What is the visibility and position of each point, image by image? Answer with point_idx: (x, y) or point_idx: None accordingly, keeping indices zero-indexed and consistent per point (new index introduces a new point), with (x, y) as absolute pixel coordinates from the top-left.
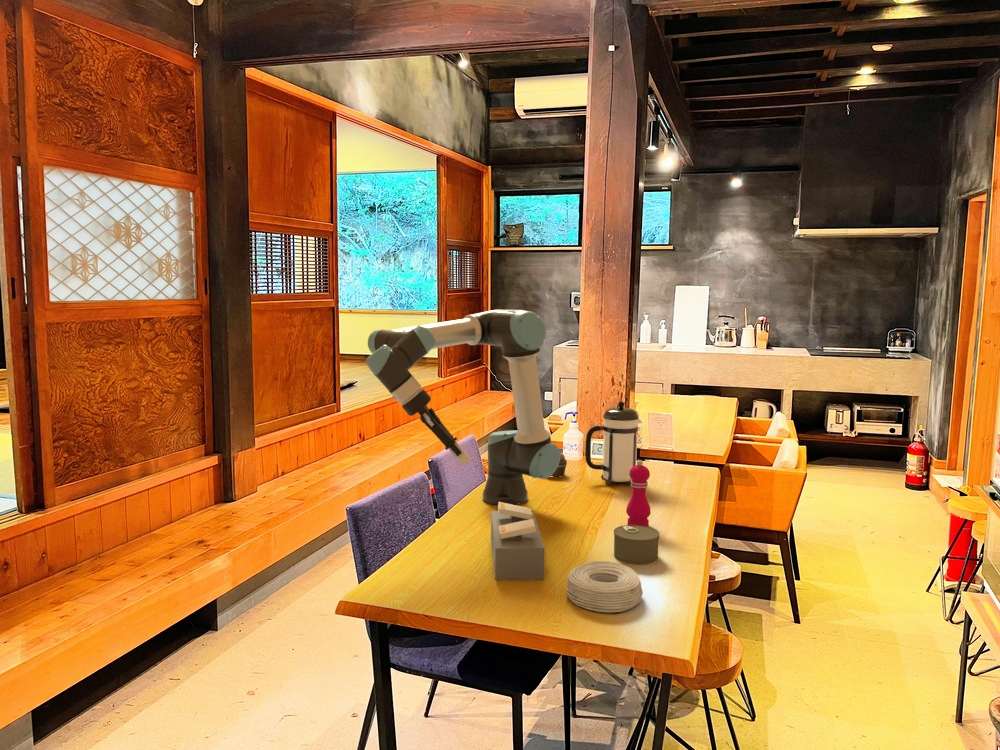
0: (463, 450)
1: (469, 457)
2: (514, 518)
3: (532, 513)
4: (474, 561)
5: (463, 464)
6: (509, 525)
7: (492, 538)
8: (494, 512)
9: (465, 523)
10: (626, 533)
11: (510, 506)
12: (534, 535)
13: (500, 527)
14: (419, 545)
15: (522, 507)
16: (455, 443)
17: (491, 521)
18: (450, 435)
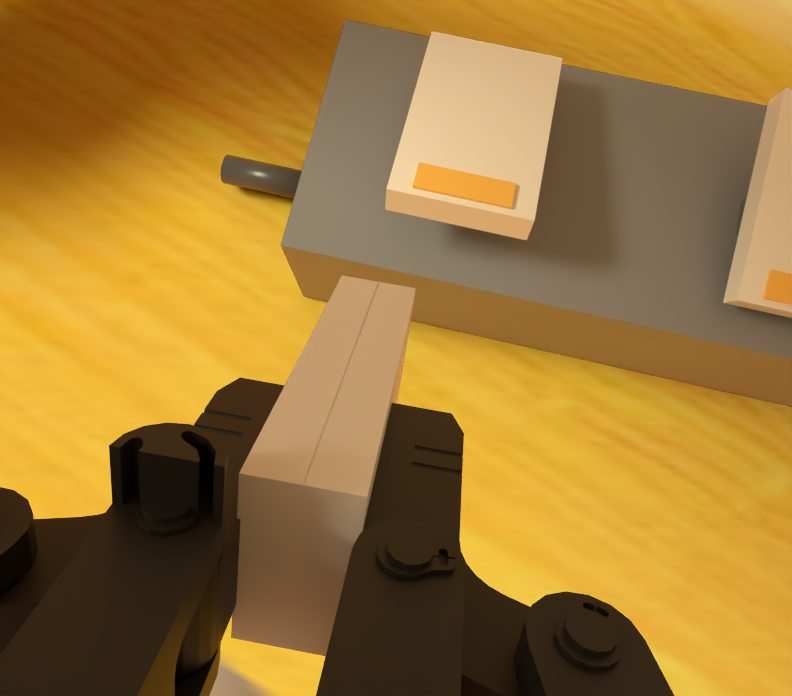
0: (355, 358)
1: (367, 293)
2: None
3: (396, 38)
4: (596, 453)
5: (396, 401)
6: (786, 242)
7: (503, 322)
8: (318, 234)
9: (38, 366)
10: None
11: (457, 139)
12: None
13: (786, 300)
14: (303, 692)
15: (441, 72)
16: (362, 511)
17: (351, 275)
18: (167, 637)
